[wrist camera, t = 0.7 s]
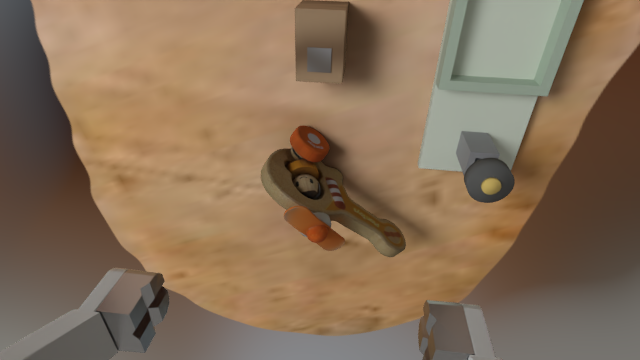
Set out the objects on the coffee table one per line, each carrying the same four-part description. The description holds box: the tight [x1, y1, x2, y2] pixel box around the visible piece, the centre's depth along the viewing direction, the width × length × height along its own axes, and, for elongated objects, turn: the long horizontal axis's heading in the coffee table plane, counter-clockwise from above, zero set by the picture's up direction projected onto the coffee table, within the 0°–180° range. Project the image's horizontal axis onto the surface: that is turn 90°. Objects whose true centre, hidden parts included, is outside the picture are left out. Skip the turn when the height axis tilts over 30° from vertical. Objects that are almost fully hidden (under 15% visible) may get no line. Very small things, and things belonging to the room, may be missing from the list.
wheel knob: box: [464, 158, 514, 203], centre depth 39 cm, size 4×4×5 cm
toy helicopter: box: [261, 126, 406, 257], centre depth 45 cm, size 8×21×14 cm, turn 55°
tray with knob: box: [418, 0, 584, 175], centre depth 38 cm, size 26×11×6 cm, turn 179°
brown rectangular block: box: [295, 0, 349, 84], centre depth 39 cm, size 7×5×5 cm
